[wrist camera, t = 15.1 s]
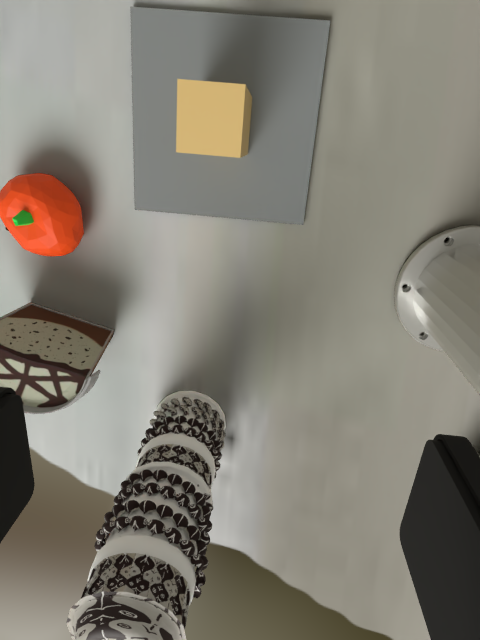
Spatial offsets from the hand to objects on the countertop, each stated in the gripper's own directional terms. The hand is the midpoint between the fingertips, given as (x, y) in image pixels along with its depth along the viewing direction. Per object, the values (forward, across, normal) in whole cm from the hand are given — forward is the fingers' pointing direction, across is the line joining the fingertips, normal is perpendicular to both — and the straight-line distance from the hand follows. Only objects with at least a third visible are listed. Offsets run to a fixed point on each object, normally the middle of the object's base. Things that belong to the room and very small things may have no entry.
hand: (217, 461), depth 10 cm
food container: (+34, +20, +15) cm, 42 cm away
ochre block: (+33, +4, -8) cm, 34 cm away
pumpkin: (+34, +20, +1) cm, 39 cm away
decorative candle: (+34, +6, +24) cm, 42 cm away
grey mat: (+33, +4, -8) cm, 34 cm away
